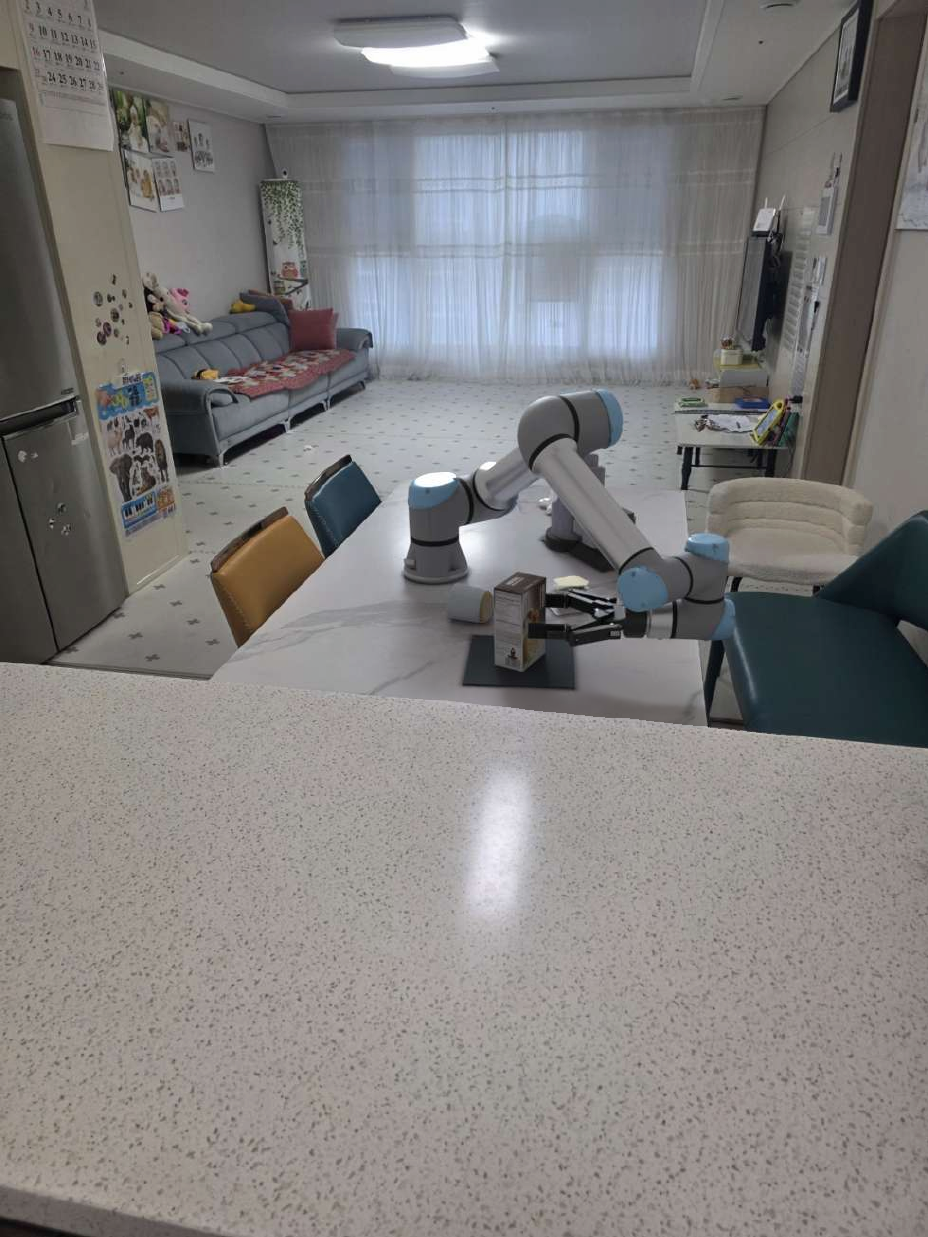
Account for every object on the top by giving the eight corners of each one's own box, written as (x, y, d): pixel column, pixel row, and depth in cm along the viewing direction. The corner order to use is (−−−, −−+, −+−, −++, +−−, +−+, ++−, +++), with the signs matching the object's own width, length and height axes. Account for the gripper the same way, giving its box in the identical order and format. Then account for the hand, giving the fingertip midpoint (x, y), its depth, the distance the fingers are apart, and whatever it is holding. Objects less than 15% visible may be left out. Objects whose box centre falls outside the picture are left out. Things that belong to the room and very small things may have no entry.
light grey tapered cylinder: (482, 629, 169) (482, 595, 166) (446, 624, 172) (445, 590, 169) (499, 610, 178) (500, 577, 175) (464, 605, 181) (464, 572, 178)
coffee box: (516, 646, 162) (517, 570, 155) (546, 653, 159) (547, 576, 152) (493, 665, 155) (492, 586, 148) (523, 673, 152) (524, 593, 145)
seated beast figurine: (537, 505, 246) (538, 466, 241) (564, 503, 248) (566, 463, 243) (547, 515, 238) (549, 474, 233) (576, 512, 240) (577, 471, 234)
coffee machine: (531, 537, 221) (533, 446, 210) (582, 527, 227) (586, 439, 216) (594, 574, 196) (599, 473, 186) (649, 562, 202) (657, 464, 192)
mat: (472, 636, 167) (472, 634, 167) (571, 638, 165) (572, 637, 165) (462, 685, 149) (462, 683, 149) (573, 688, 147) (574, 687, 147)
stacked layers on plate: (556, 615, 175) (557, 591, 173) (541, 599, 183) (542, 576, 181) (600, 609, 178) (601, 586, 175) (583, 593, 185) (584, 571, 183)
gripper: (650, 668, 141) (526, 664, 143) (638, 608, 163) (531, 605, 166) (654, 629, 138) (527, 625, 140) (640, 573, 160) (531, 571, 162)
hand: (529, 614), depth 153 cm, fingers open, 13 cm apart
